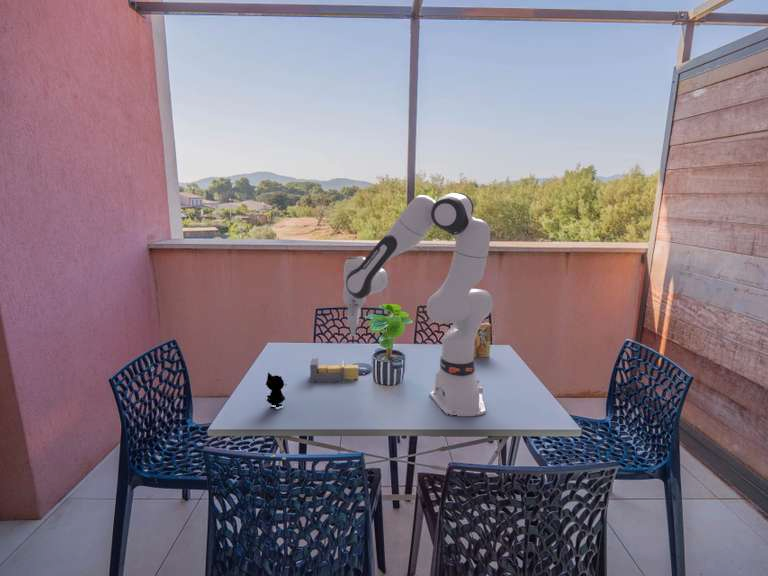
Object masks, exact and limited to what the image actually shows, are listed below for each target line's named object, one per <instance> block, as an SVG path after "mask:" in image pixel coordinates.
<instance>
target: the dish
mask: <svg viewBox="0 0 768 576" xmlns="http://www.w3.org/2000/svg"><path fill="white" fill-rule="evenodd" d="M351 365H358V374H363V373H368V374H370V373H371V370H372V371H373V366H372V365H371V364H369V363H365V362H357V363H351ZM371 366H372V367H371ZM369 372H370V373H369ZM363 375H364V374H363Z"/></svg>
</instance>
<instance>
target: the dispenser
mask: <svg viewBox="0 0 768 576" xmlns="http://www.w3.org/2000/svg"><path fill="white" fill-rule="evenodd" d="M309 365H310V366H309V368H310V375H309V376H310V382H311V381H343V382H345V380H344V365H345V360H342V361H341V365H342V373H328V365H327V364H319V358H311V361H310V364H309Z"/></svg>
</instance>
